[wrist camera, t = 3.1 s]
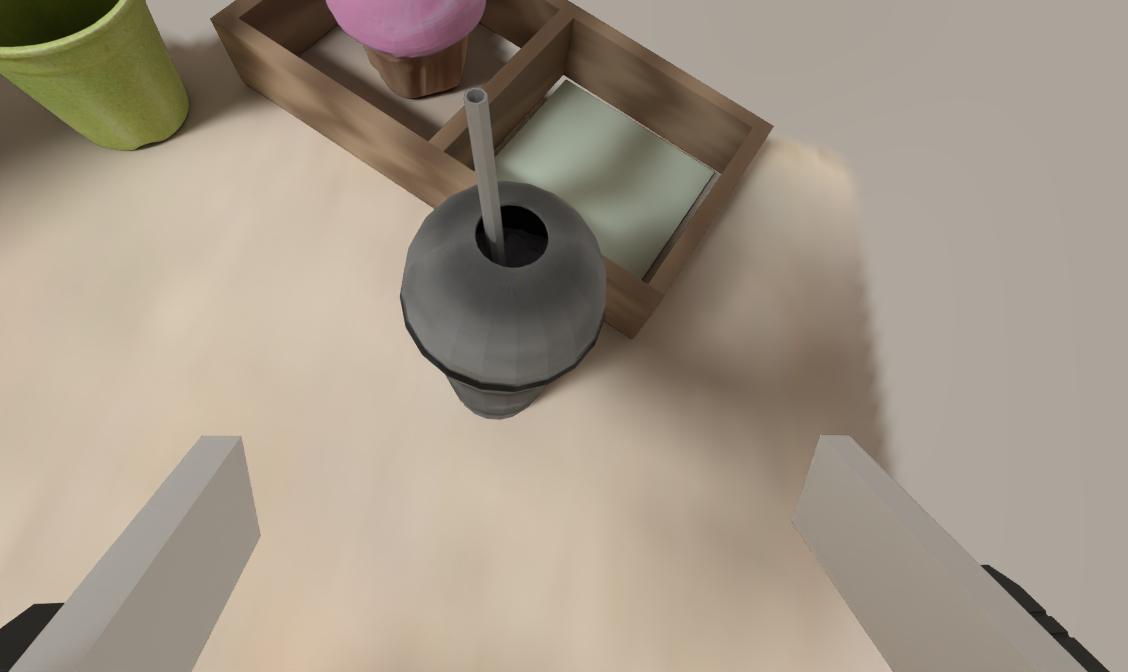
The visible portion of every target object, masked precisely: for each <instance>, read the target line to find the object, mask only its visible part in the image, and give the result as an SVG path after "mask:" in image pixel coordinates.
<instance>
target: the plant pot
mask: <svg viewBox="0 0 1128 672" xmlns="http://www.w3.org/2000/svg"><path fill="white" fill-rule="evenodd" d="M0 74H1V75H2V76H3V77H5V78H6V79H7V80H9V81H10V82H11V83H13V84H14V85H15V86H17V87H18V88H19V89H21V90H22V91H24V92H25V93H26V94H28V95H29V96H30V97H32V98H33V99H34V100H36V101H37V102H38V103H40V104H41V105H42V106H44V107H45V108H46V109H48V110H49V111H50V112H52V113H53V114H54V115H55V116H57V117H58V118H59V119H61V120H62V121H63V122H65V123H66V124H67V125H69V126H70V127H71V128H73V129H74V130H75V131H77V132H78V133H80V134H81V135H82V136H84V137H85V138H86V139H88V140H89V141H91V142H93V143H95V144H97V145H99V146H102V147H105V148H109V149H115V150H134V149H137V148H138V147H139V146H142V145H145V144H148V143H151V142H157V141H163V140H165V139H167V138H168V137H170V136H171V135H172V134H174V133H175V132H176V131H177V130H178V129H179V128H180V126H181V125H182V124H183V122H184V120H185V118H186V116H187V113H188V110H189V99H188V96H187V92H186V89H185V87H184V84H183V82H182V80H181V78H180V76H179V74H178V72H177V70H176V68H175V66H174V63H173V61H172V59H171V57H170V55H169V53H168V51H167V48H166V46H165V44H164V42H163V40H162V38H161V36H160V33H159V31H158V29H157V27H156V24H155V22H154V20H153V18H152V16H151V13H150V12H149V9H148V7H147V5H146V1H145V0H0Z"/></svg>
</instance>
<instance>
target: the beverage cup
mask: <svg viewBox="0 0 1128 672" xmlns="http://www.w3.org/2000/svg"><path fill="white" fill-rule="evenodd" d="M464 103H465V109H466V115H467V122H468V128H469V134H470V141H471V147H472V153H473V160H474V166H475V172H476V178H477V184H476V185H474V186H472V187H470V188H467V189H465V190H463V191H461V192H458V193H456V194H454V195H452V196H450V197H449V198H447V199H446V200H445V201H444V202H443V203H442V204H441V205H439V206H438V207H437V208H436V209H435V210H434V211H433V212H431V213H430V214H429V215H428V216H427V217H426V219H425V220H424V222H423V223H422V225H421V227H420V229H419V230H418V232H417V234H416V236H415V237H414V239H413V241H412V243H411V244H410V246H409V249H408V253H407V259H406V265H405V269H404V275H403V281H402V287H401V293H400V300H401V305H402V310H403V316H404V321H405V326H406V328H407V330H408V332H409V333H410V335H411V337H412V338H413V340H414V342H415V344H416V345H417V347H418V349H419V350H420V352H421V354H422V355H423V356H424V357H425V358H427V359H428V360H429V361H430V362H431V363H433V364H434V365H435V366H436V367H437V368H438V369H440V370H441V371H442V372H443V373H444V374H445V375H446V377H447V378H448V380H449V382H450V384H451V385H452V387H453V389H454V391H455V392H456V394H457V396H458V397H459V399H460V401H461V402H463V403H464V405H465V406H466V407H467V408H468V409H470V410H471V411H472V412H473V413H474V414H477V415H479V416H482V417H484V418H487V419H499V420H500V419H504V418H509V417H513V416H514V415H516V414H518V413H519V412H521V411H523V410H524V409H525V408H526V407H528V406H529V405H530V404H531V403H532V402H533V401H534V399H535V398H536V397H537V396H538V395H539V394H540V392H541V391H542V390H543V389H544V388H545V387H546V385H548V384H549V383H551V382H553V381H554V380H556V379H558V378H559V377H561V376H563V375H564V374H566V373H568V372H569V371H571V370H573V369H574V368H575V367H576V366H577V365H578V364H579V363H580V362H581V360H582V359H583V358H584V357H585V356H586V354H587V353H588V352H589V351H590V350H591V349H592V347H593V346H594V345H595V343H596V340H597V338H598V335H599V332H600V330H601V327H602V324H603V322H604V319H605V307H606V267H605V264H604V261H603V258H602V255H601V251H600V248H599V245H598V242H597V239H596V237H595V235H594V234H593V232H592V231H591V229H590V228H589V227H588V225H587V224H586V223H585V221H584V220H583V218H582V217H581V216H580V214H579V213H578V212H577V211H576V210H575V209H574V208H572V207H571V206H570V205H568V204H567V203H566V202H565V201H563V200H562V199H561V198H559V197H558V196H557V195H556V194H554V193H551V192H549V191H546V190H544V189H541V188H539V187H536V186H534V185H532V184H527V183H519V182H511V181H497V175H496V166H495V157H494V148H493V140H492V131H491V122H490V113H489V104H488V95H487V93H486V92H485V91H484V90H483V89H482V88H474V87H473V88H471V89H469V90H467V91H465V95H464Z"/></svg>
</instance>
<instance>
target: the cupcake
mask: <svg viewBox="0 0 1128 672" xmlns="http://www.w3.org/2000/svg"><path fill="white" fill-rule="evenodd" d="M326 3H327V6H328V8H329V9H330V11H331V12H332V14H333V15H334V17H335V19H336V21H337V23H338V24H339V25H340V27H341V28H342V29H343V30H344V31H345V32H346V33H347V34H348V35H350V36H351V37H353V38H354V39H355V40H357V41H358V42H360V43H362V44H363V46H364V48H365V50H366V52H367V55H368V58H369V60H370V63H371V64H372V66H373V67H374V68H376V69H377V70H378V71H379V73H380V75H381V77H382V79H383V80H384V82H385V83H386V84H387V86H388V87H389V88H390V89H391V90H392V91H393V92H394V93H396V94H397V95H399V96H402V97H405V98H418V97H420V96H425V95H429V94H432V93H436V92H442V91H445V90H448V89H450V88H453V87H456V86H458V85H459V83H460V81H461V76H462V73H463V70H464V64H465V59H466V55H467V45H468V37H469V33H470V32H471V31H472V30H473V29H474V28H475V27H476V26H477V24H478V23H479V21H480V19H481V17H482V15H483V13H484V9H485V6H486V0H326Z"/></svg>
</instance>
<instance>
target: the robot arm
mask: <svg viewBox="0 0 1128 672" xmlns="http://www.w3.org/2000/svg"><path fill="white" fill-rule="evenodd" d="M792 524H793V525H794V527H795V528H796V529H797V531H798V532H799V534H800V535H801V537H802V538H803V540H804V541H805V543H806V544H807V546H808V547H809V549H810V550H811V552H812V553H813V554H814V556H815V557H816V559H817V560H818V562H819V563H820V565H821V566H822V568H823V569H824V571H825V572H826V574H827V575H828V577H829V578H830V580H831V581H832V582H833V584H834V585H835V587H836V588H837V590H838V591H839V593H840V594H841V596H842V597H843V599H844V600H845V602H846V603H847V605H848V606H849V607H850V609H851V610H852V612H853V613H854V615H855V616H856V618H857V619H858V621H859V622H860V624H861V625H862V627H863V628H864V630H865V631H866V633H867V634H868V635H869V637H870V638H871V640H872V641H873V643H874V644H875V646H876V647H877V649H878V650H879V652H880V653H881V655H882V656H883V658H884V659H885V660H886V662H887V663H888V665H889V666H890V668H891V669H892V671H893V672H1109V671H1108V670H1107V669H1106V668H1105V667H1104V666H1103V665H1102V664H1101V663H1100V662H1099V661H1098V660H1097V659H1096V658H1095V657H1094V656H1093V655H1092V654H1091V653H1089V652H1088V651H1087V650H1086V649H1085V648H1084V647H1083V646H1082V645H1081V644H1080V643H1079V642H1078V641H1077V640H1076V639H1075V638H1071V637H1069V635H1068V632H1067V631H1066V630H1065V629H1064V628H1063V627H1062V626H1061V625H1060V624H1059V623H1058V622H1057V621H1056V620H1055V619H1054V618H1053V617H1052V616H1047V614H1046V610H1045V609H1043V608H1042V607H1041V606H1040V605H1039V604H1038V603H1037V602H1036V601H1035V600H1034V599H1033V598H1032V597H1031V596H1030V595H1029V594H1028V593H1027V592H1026V591H1025V590H1024V589H1022V587H1020V586H1019V585H1018V584H1016V583H1014V582H1013V581H1012V580H1010V579H1009V578H1007V577H1006V576H1004V575H1003V574H1001V573H1000V572H998V571H996V570H995V569H994V568H992V567H991V566H989V565H979V564H978V563H977V562H976V561H975V560H974V559H973V558H972V557H971V556H970V555H969V554H968V553H967V552H966V551H965V550H964V549H963V548H962V547H961V546H960V545H959V544H958V543H957V542H956V541H955V540H954V539H953V538H952V537H951V536H950V535H949V534H948V533H947V532H946V531H945V530H944V529H943V528H942V527H941V526H940V525H939V524H938V523H937V522H936V521H935V520H934V519H933V518H932V517H931V516H930V515H929V514H928V513H927V512H926V511H925V510H924V509H923V508H922V507H921V506H920V505H919V504H918V503H917V502H916V501H915V500H914V499H913V498H912V497H911V496H910V495H909V494H908V493H907V492H906V491H905V490H904V489H903V488H902V487H901V486H900V485H899V484H898V483H897V482H896V481H895V480H894V479H893V478H892V477H891V476H890V475H889V474H888V473H887V472H886V471H885V470H884V469H883V468H882V467H881V466H880V465H879V464H878V463H877V462H876V461H875V460H874V459H873V458H872V457H871V456H870V455H868V454H867V453H866V452H865V451H864V450H863V449H862V448H861V447H860V446H859V445H858V444H857V443H856V442H855V441H854V440H853V439H852V438H851V437H850V436H849V435H820V437H819V440H818V443H817V446H816V449H815V452H814V456H813V459H812V462H811V465H810V468H809V471H808V474H807V477H806V480H805V483H804V486H803V489H802V492H801V495H800V498H799V501H798V504H797V507H796V510H795V513H794V517H793V520H792ZM260 536H261V535H260V530H259V525H258V520H257V515H256V509H255V504H254V499H253V494H252V489H251V484H250V478H249V473H248V468H247V463H246V458H245V453H244V447H243V442H242V437H241V436H201V438H200V439H199V440H198V441H197V442H196V444H195V445H194V446H193V447H192V448H191V450H190V451H189V452H188V453H187V455H186V456H185V457H184V458H183V459H182V461H181V462H180V463H179V464H178V466H177V467H176V468H175V469H174V470H173V472H172V473H171V474H170V475H169V477H168V478H167V479H166V480H165V481H164V483H163V484H162V485H161V486H160V488H159V489H158V490H157V491H156V492H155V494H154V495H153V496H152V497H151V499H150V500H149V501H148V502H147V503H146V505H145V506H144V507H143V508H142V510H141V511H140V512H139V513H138V514H137V516H136V517H135V518H134V519H133V521H132V522H131V523H130V524H129V525H128V527H127V528H126V529H125V530H124V532H123V533H122V534H121V535H120V536H119V538H118V539H117V540H116V541H115V542H114V544H113V545H112V546H111V547H110V549H109V550H108V551H107V552H106V553H105V555H104V556H103V557H102V558H101V560H100V561H99V562H98V563H97V564H96V566H95V567H94V568H93V569H92V571H91V572H90V573H89V574H88V575H87V577H86V578H85V579H84V580H83V582H82V583H81V584H80V585H79V586H78V588H77V589H76V590H75V591H74V593H73V594H72V595H71V596H70V597H69V599H68V600H67V601H66V602H65V603H48V604H34V605H32V606H31V607H29V608H28V609H27V610H25V611H24V612H23V613H21V614H20V615H18V616H17V617H16V618H14V619H13V620H12V621H10V622H9V623H7V624H6V625H5V626H3V627H2V628H1V629H0V672H191V671H192V669H193V667H194V665H195V664H196V662H197V660H198V658H199V656H200V654H201V652H202V650H203V648H204V646H205V644H206V642H207V640H208V638H209V636H210V634H211V632H212V630H213V628H214V626H215V624H216V622H217V620H218V618H219V616H220V614H221V613H222V611H223V609H224V607H225V605H226V603H227V601H228V599H229V597H230V595H231V593H232V591H233V589H234V587H235V585H236V583H237V581H238V579H239V577H240V575H241V573H242V571H243V569H244V567H245V565H246V563H247V561H248V560H249V558H250V556H251V554H252V552H253V550H254V548H255V546H256V544H257V542H258V540H259V538H260Z"/></svg>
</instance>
